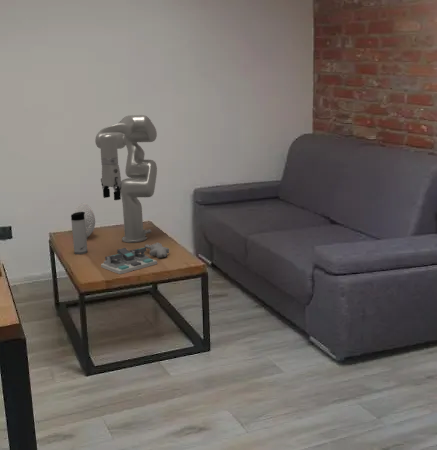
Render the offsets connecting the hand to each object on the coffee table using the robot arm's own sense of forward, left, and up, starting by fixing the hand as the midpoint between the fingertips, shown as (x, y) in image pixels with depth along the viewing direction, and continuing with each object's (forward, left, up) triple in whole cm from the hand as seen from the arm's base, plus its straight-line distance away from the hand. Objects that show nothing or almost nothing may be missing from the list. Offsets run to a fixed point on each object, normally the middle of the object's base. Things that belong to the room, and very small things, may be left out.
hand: (112, 198), depth 319 cm
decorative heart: (-9, -42, -28) cm, 52 cm away
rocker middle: (+4, +15, -23) cm, 27 cm away
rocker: (+11, +15, -23) cm, 29 cm away
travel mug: (+8, -18, -28) cm, 34 cm away
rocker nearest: (-2, +15, -23) cm, 27 cm away
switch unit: (+4, +17, -28) cm, 33 cm away
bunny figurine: (-15, +12, -28) cm, 34 cm away
